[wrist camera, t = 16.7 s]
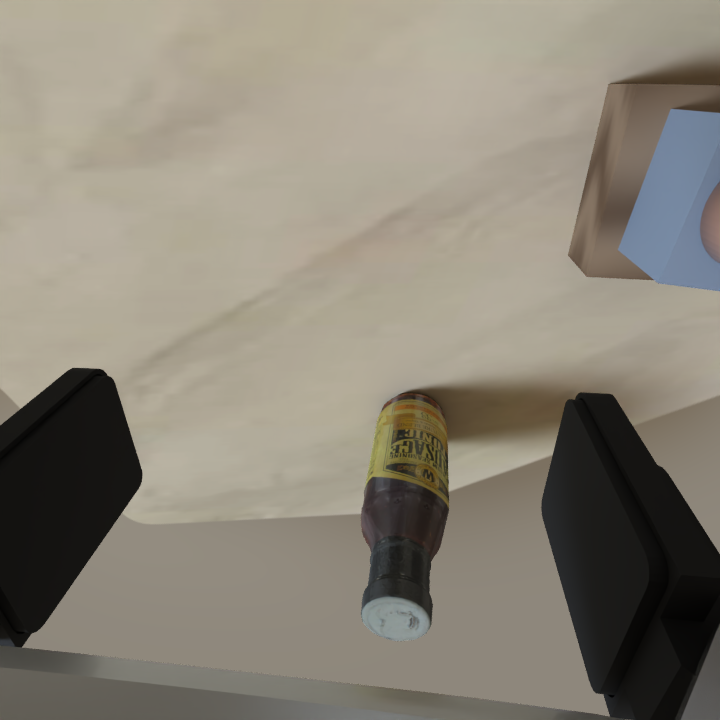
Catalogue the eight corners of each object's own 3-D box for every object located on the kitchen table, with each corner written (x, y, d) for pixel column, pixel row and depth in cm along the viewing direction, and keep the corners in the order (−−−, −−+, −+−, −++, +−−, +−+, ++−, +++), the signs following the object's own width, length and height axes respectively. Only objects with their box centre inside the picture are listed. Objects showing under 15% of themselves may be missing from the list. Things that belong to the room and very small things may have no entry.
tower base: (606, 84, 30) (637, 83, 26) (792, 87, 30) (856, 87, 25) (566, 253, 36) (586, 276, 32) (722, 261, 35) (765, 285, 31)
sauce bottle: (459, 409, 43) (486, 621, 26) (421, 453, 46) (422, 669, 29) (397, 374, 42) (383, 572, 25) (362, 422, 45) (327, 628, 28)
